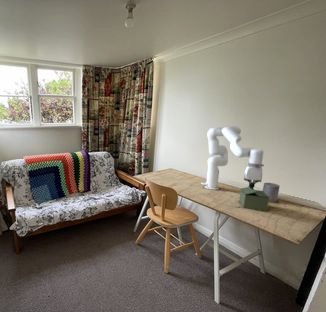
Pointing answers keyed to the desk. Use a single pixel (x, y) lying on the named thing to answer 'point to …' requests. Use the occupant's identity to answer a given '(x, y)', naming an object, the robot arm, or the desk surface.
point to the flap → (248, 190)
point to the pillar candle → (271, 191)
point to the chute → (254, 200)
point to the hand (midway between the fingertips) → (251, 188)
